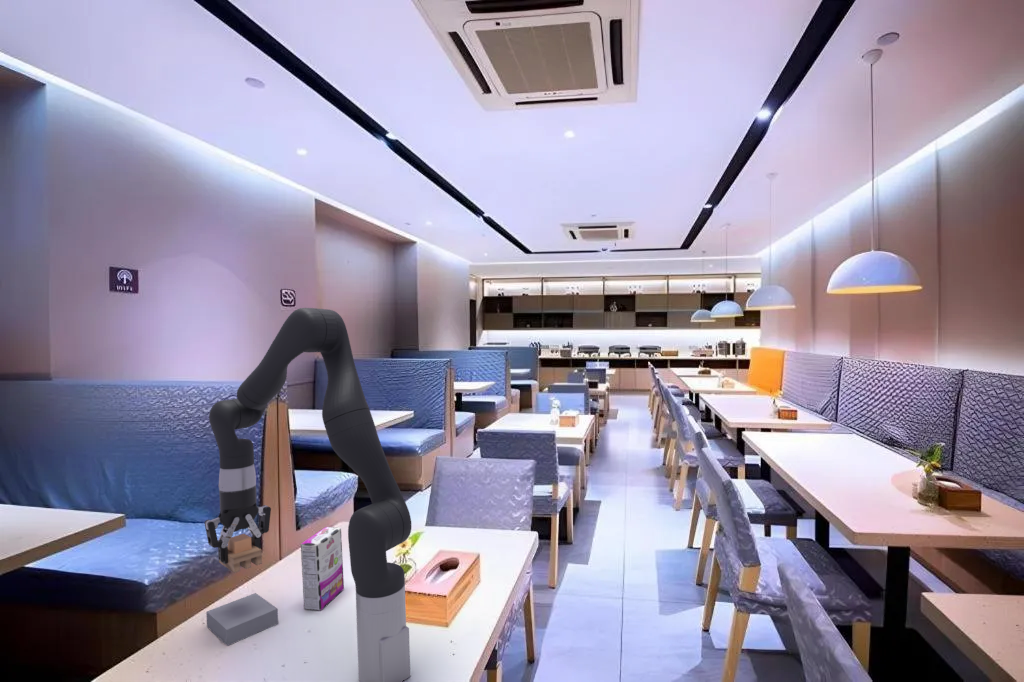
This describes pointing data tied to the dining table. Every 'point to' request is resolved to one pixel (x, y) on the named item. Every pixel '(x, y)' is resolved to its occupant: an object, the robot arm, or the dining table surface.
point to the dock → (241, 618)
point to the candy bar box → (322, 568)
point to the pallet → (243, 559)
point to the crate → (239, 543)
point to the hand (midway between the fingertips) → (240, 557)
